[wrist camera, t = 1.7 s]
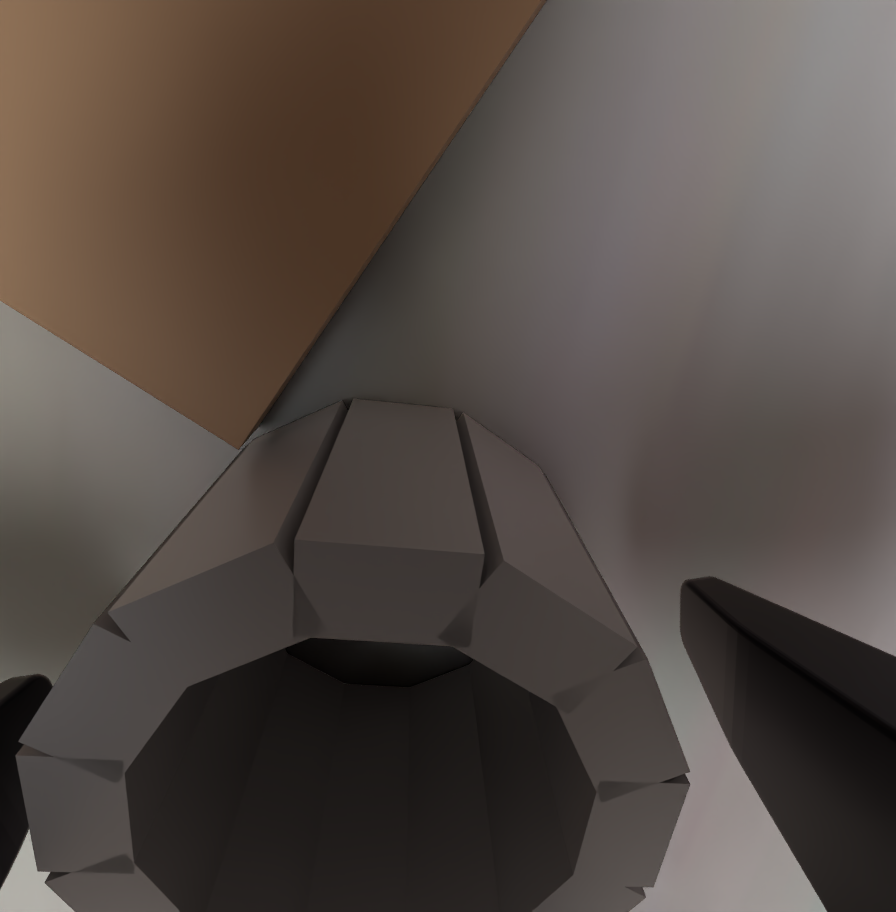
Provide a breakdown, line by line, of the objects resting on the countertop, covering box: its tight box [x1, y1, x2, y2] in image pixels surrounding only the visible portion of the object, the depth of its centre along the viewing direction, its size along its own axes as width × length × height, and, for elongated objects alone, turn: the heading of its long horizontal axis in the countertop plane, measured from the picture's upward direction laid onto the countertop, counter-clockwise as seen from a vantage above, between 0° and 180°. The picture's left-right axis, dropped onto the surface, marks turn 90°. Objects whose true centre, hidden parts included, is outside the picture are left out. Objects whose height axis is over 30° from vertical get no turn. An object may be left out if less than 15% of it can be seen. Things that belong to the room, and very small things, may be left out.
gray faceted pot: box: [15, 399, 690, 912], centre depth 8 cm, size 6×7×5 cm
